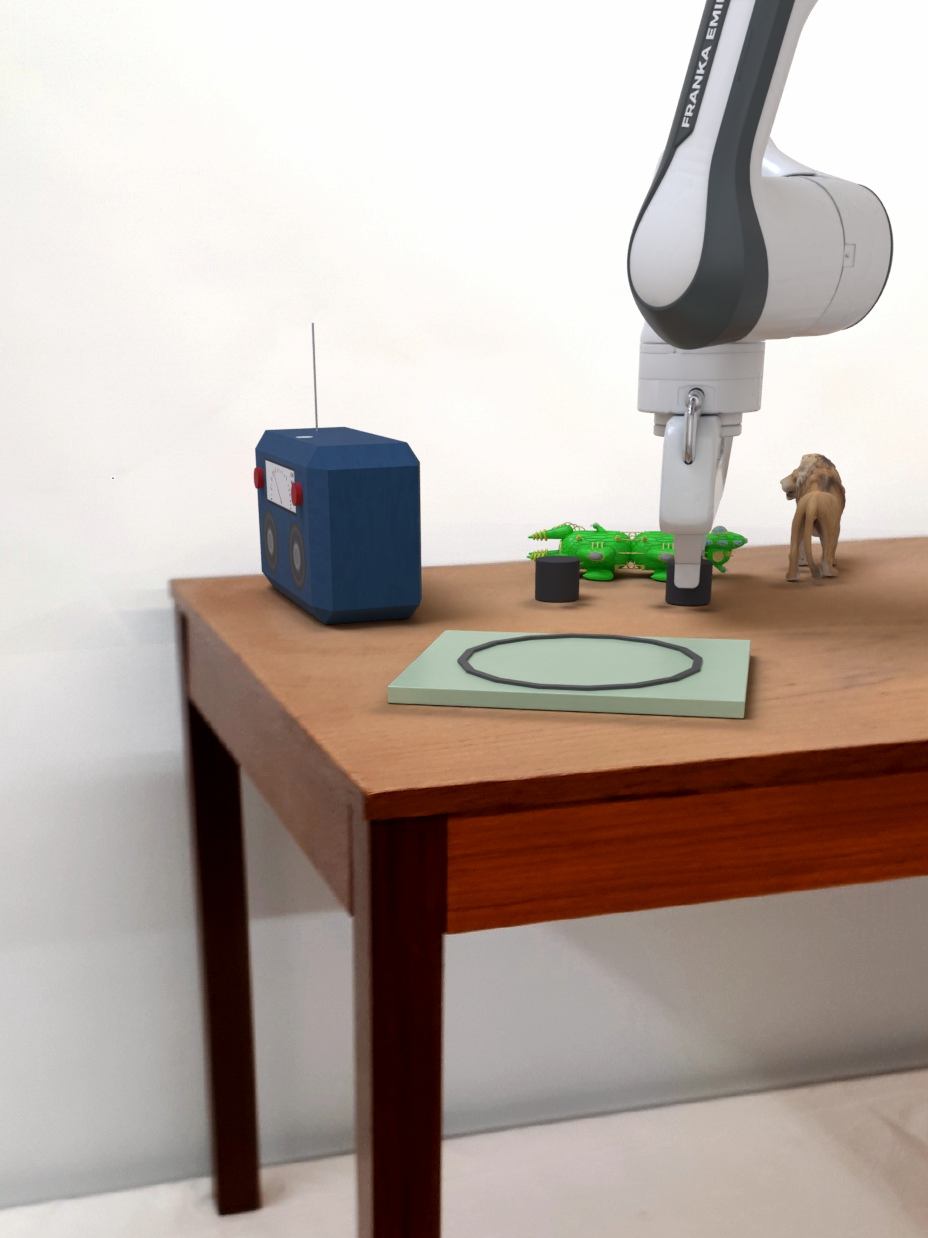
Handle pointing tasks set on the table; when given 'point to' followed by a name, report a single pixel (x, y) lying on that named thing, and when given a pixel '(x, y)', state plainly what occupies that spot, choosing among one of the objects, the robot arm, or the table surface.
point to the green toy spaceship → (630, 549)
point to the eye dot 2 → (689, 595)
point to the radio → (340, 521)
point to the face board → (579, 673)
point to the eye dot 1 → (557, 578)
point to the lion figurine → (814, 513)
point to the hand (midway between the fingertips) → (688, 580)
